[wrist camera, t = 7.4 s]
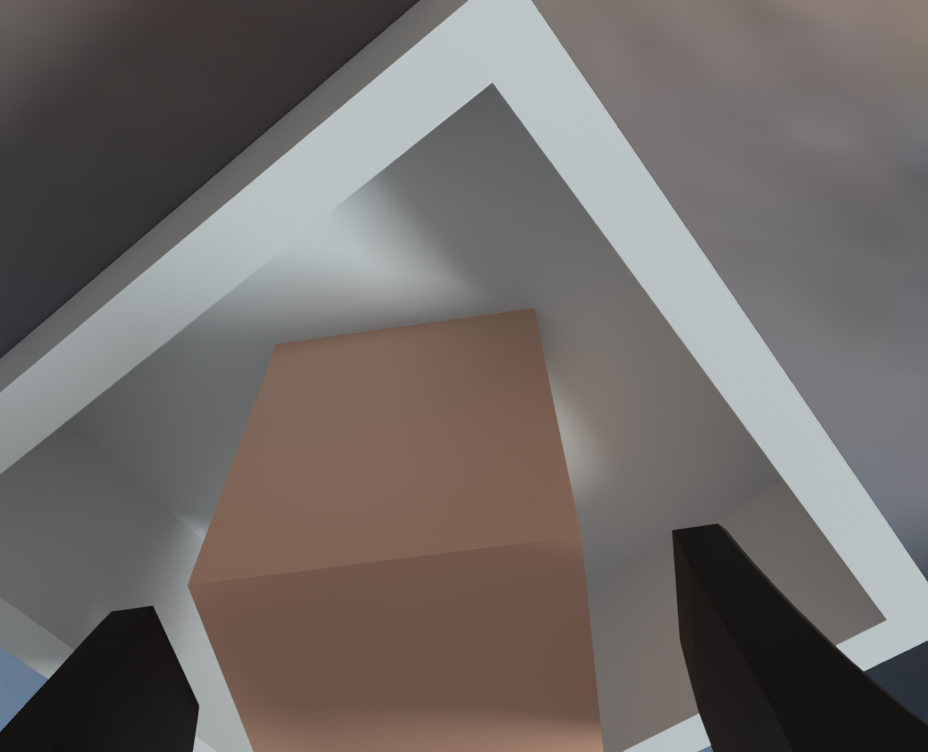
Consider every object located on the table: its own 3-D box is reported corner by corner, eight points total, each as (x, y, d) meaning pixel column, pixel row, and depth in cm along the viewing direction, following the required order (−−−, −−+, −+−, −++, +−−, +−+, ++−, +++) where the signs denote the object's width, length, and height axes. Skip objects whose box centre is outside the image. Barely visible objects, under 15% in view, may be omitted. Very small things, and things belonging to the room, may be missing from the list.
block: (558, 515, 17) (607, 792, 12) (332, 543, 17) (283, 828, 12) (533, 308, 15) (581, 535, 10) (276, 344, 15) (187, 585, 10)
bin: (391, 711, 21) (379, 905, 17) (-17, 373, 16) (-167, 532, 12) (841, 458, 17) (957, 625, 13) (488, -60, 13) (508, -34, 9)
